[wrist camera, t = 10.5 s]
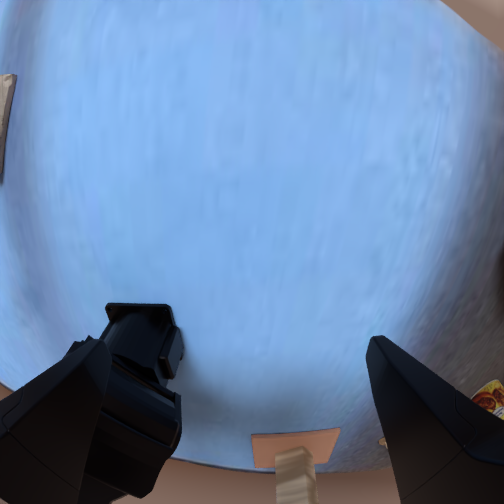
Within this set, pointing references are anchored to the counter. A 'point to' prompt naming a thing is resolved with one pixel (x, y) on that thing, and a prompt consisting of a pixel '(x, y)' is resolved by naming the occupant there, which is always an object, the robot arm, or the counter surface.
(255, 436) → the tile
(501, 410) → the canned food
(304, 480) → the tall wooden block
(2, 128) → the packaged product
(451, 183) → the counter surface
